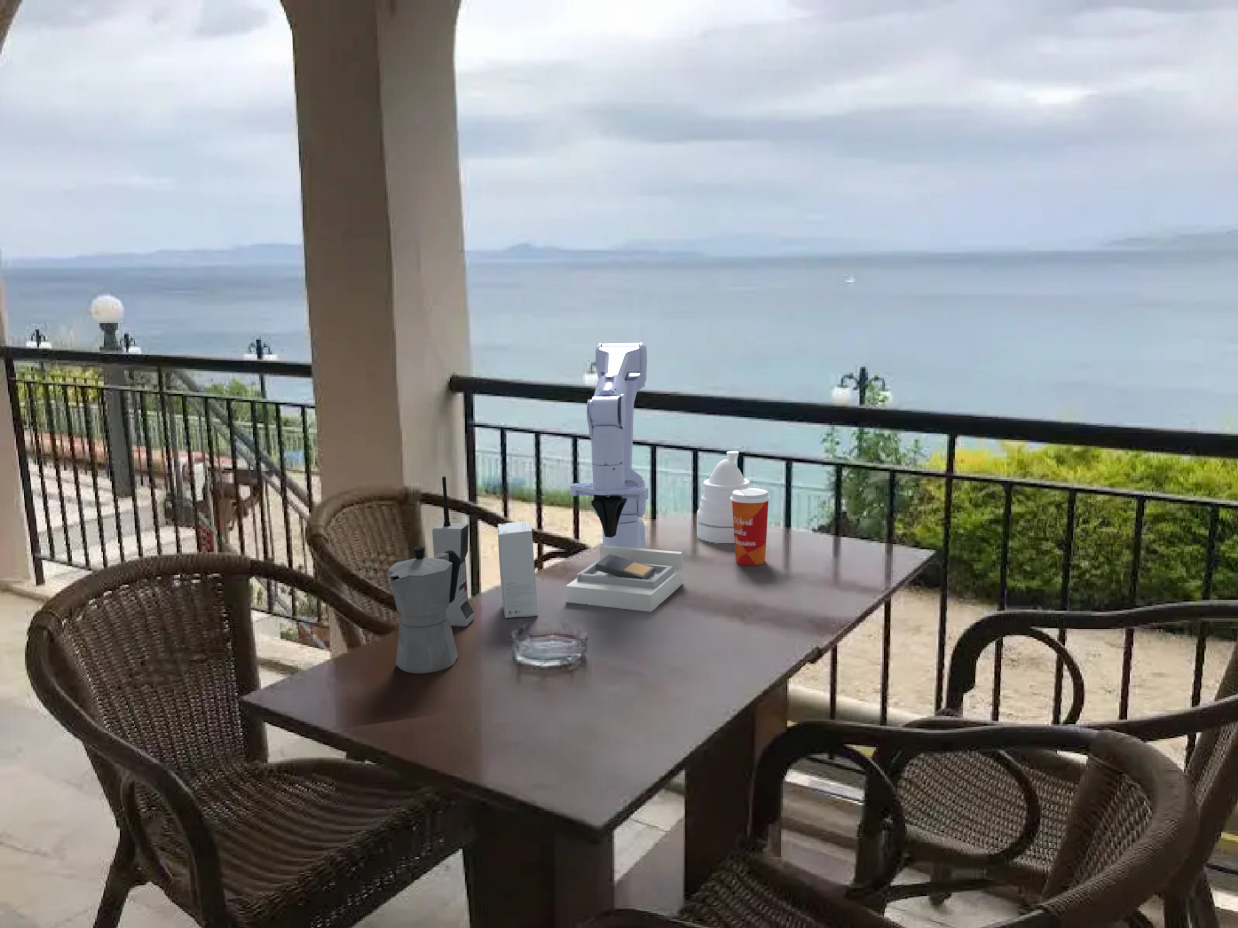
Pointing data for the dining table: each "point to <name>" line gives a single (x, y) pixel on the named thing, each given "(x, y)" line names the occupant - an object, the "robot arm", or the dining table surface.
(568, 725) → the dining table surface
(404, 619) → the coffeepot
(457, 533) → the vintage mobile phone
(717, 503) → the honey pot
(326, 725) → the dining table surface
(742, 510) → the paper cup
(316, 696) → the dining table surface
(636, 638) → the dining table surface
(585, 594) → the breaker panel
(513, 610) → the skincare box
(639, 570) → the block
